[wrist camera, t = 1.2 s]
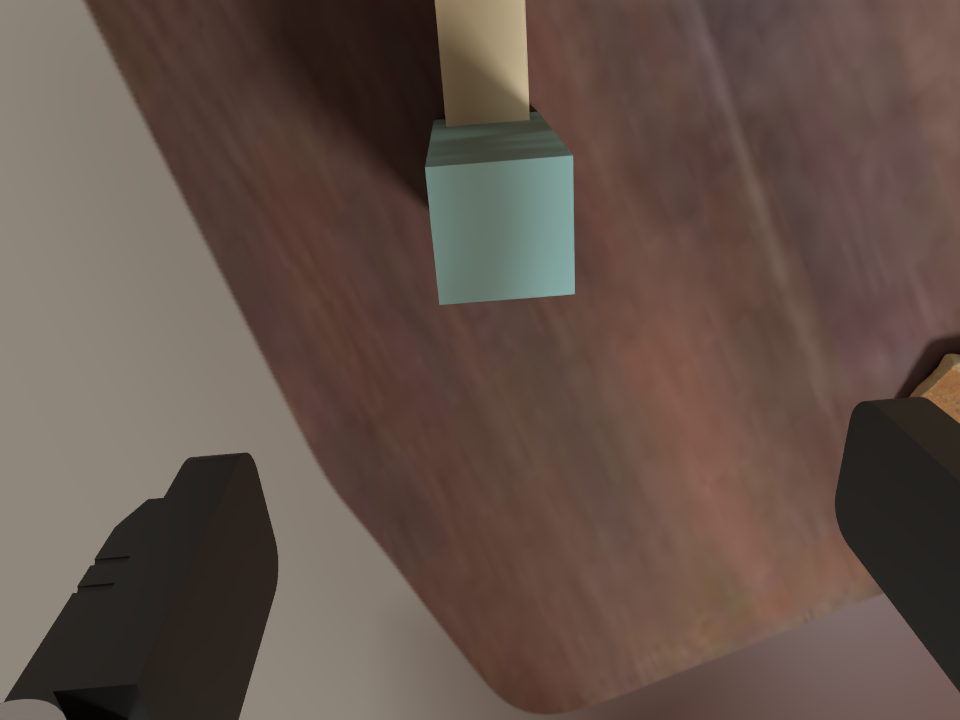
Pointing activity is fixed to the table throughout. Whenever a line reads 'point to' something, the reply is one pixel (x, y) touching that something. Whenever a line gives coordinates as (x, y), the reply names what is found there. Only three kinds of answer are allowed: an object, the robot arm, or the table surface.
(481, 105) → the two-colour block
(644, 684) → the table surface
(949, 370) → the pottery shard
